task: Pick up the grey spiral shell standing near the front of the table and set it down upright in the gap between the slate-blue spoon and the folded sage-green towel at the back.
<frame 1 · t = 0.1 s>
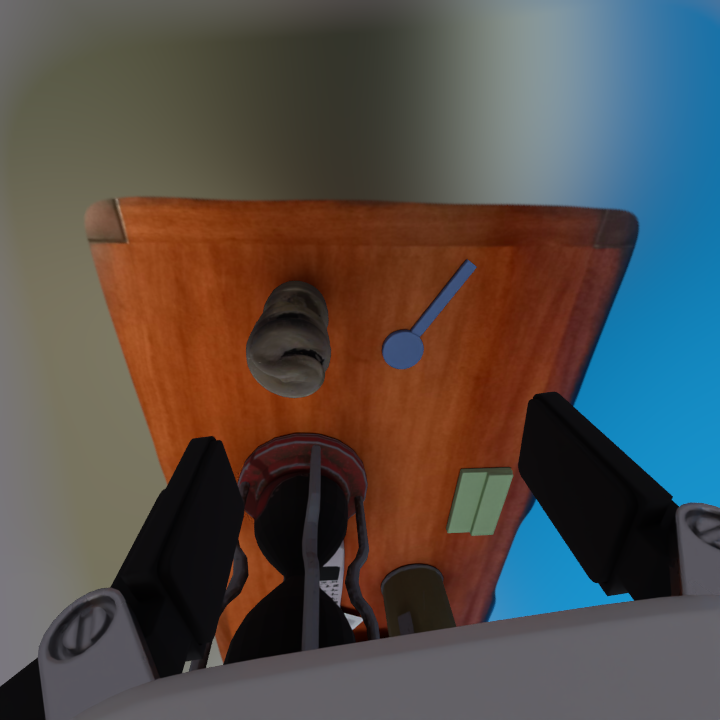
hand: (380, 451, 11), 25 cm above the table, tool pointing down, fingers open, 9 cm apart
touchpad: (322, 627, 62), on the table
canister: (410, 581, 58), on the table
mobile phone: (323, 574, 55), on the table
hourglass: (304, 480, 45), on the table
towel: (476, 499, 50), on the table
grey spiral shell: (300, 295, 34), on the table
spoon: (425, 319, 36), on the table
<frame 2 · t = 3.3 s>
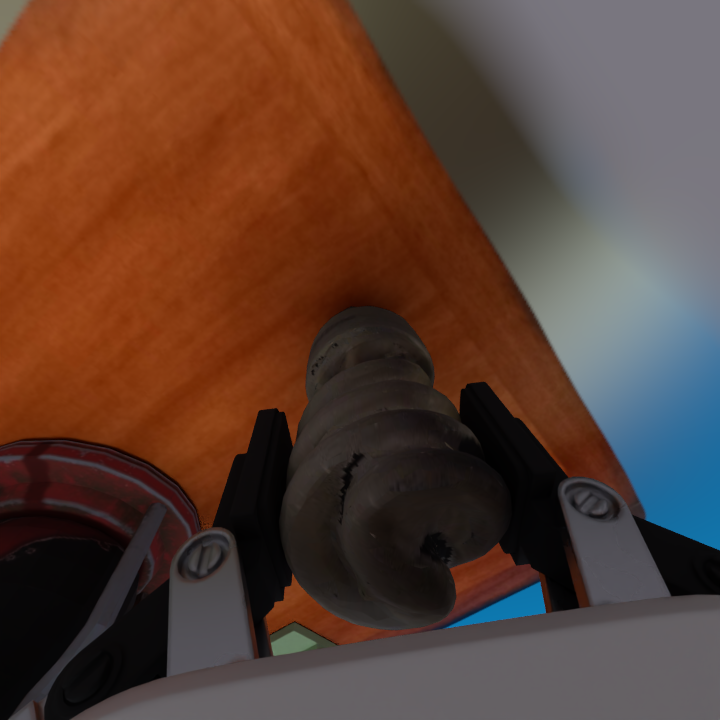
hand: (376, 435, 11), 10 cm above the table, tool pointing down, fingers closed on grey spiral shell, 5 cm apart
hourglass: (87, 521, 26), on the table
towel: (273, 657, 36), on the table
grey spiral shell: (353, 323, 20), on the table, touching gripper
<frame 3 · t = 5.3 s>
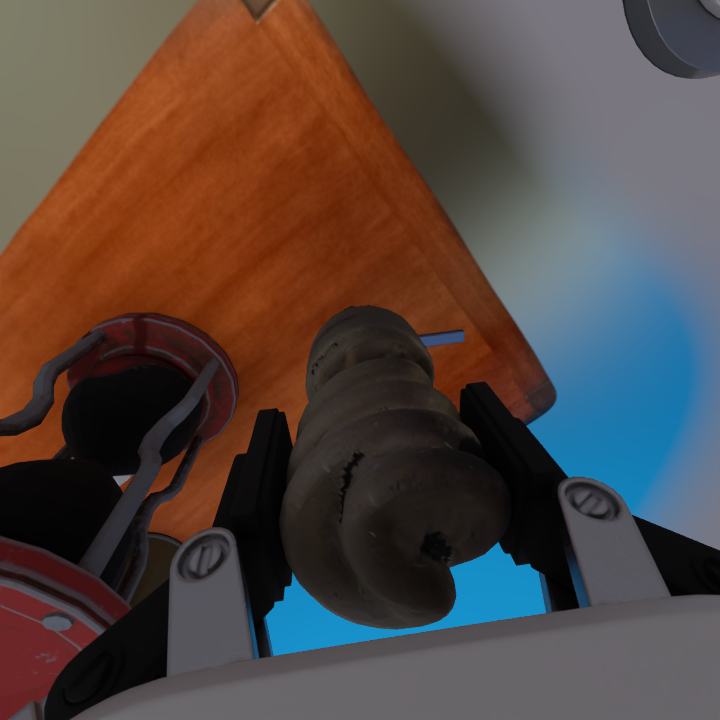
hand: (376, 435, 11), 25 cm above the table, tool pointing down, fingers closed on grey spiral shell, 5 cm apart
canister: (152, 554, 49), on the table
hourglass: (162, 382, 37), on the table
grey spiral shell: (353, 322, 20), point 15 cm above the table, touching gripper
spoon: (399, 343, 38), on the table
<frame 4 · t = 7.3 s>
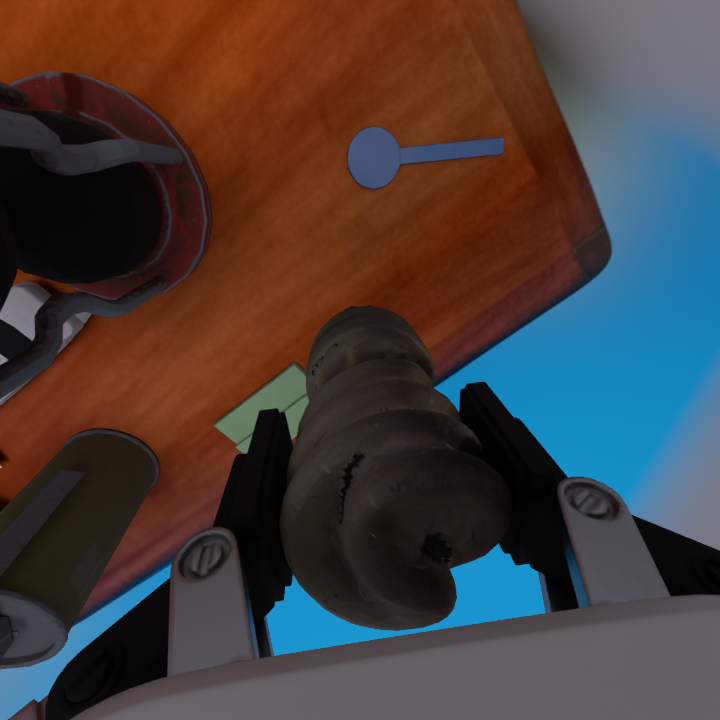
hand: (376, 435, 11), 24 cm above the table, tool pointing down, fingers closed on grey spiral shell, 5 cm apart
canister: (113, 461, 41), on the table
mobile phone: (1, 361, 34), on the table
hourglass: (111, 200, 29), on the table
towel: (276, 412, 40), on the table
grey spiral shell: (353, 323, 20), point 14 cm above the table, touching gripper
spoon: (420, 154, 29), on the table
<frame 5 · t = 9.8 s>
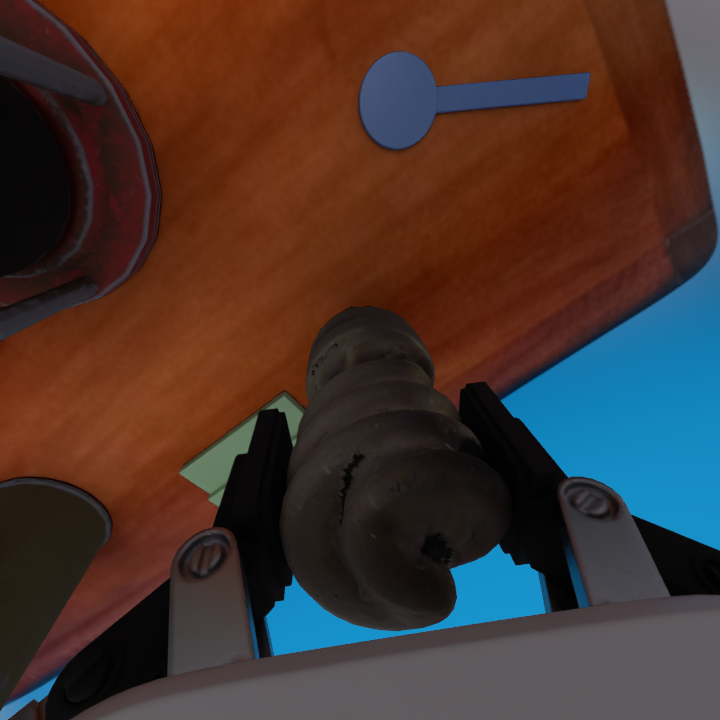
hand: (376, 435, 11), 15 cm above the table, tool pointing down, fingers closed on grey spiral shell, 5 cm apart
canister: (50, 515, 32), on the table
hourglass: (10, 163, 20), on the table
towel: (261, 454, 30), on the table
grey spiral shell: (353, 323, 20), point 5 cm above the table, touching gripper
spoon: (465, 98, 20), on the table
when the fingers open (10 cm above the table, at t = 11.7 s): grey spiral shell stays where it is, on the table.
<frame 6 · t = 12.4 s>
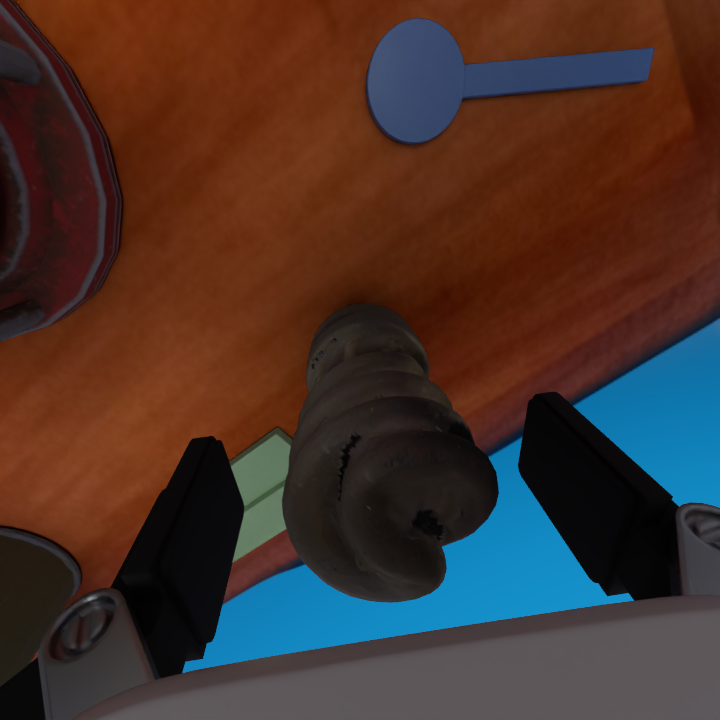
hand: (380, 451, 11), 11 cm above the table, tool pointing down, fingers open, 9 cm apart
canister: (10, 565, 28), on the table
towel: (251, 496, 26), on the table
grey spiral shell: (352, 320, 21), on the table
spoon: (498, 80, 16), on the table
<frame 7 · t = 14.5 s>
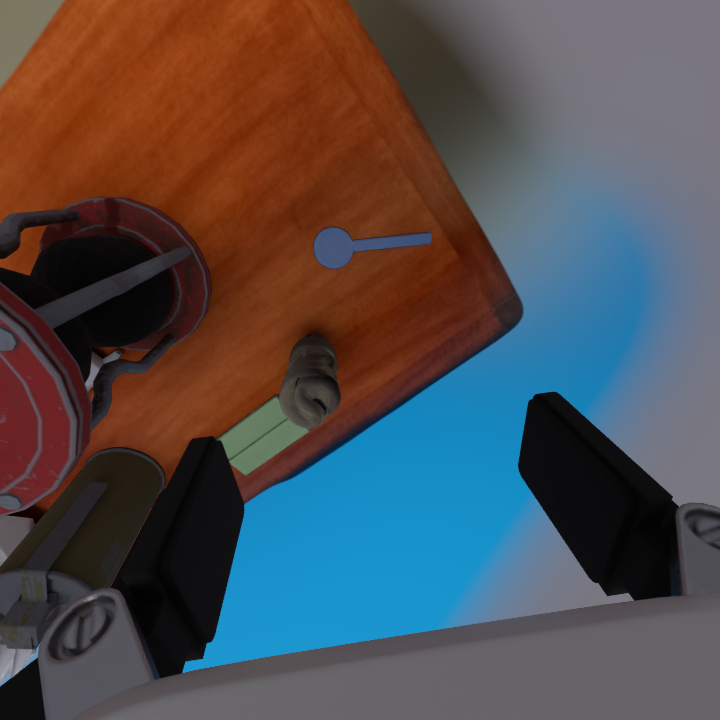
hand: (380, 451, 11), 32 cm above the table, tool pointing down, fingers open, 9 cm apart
canister: (127, 473, 50), on the table
mobile phone: (42, 395, 43), on the table
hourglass: (135, 277, 38), on the table
towel: (261, 433, 49), on the table
grey spiral shell: (312, 340, 44), on the table
grey carved stone block: (17, 540, 53), on the table
spoon: (368, 243, 39), on the table
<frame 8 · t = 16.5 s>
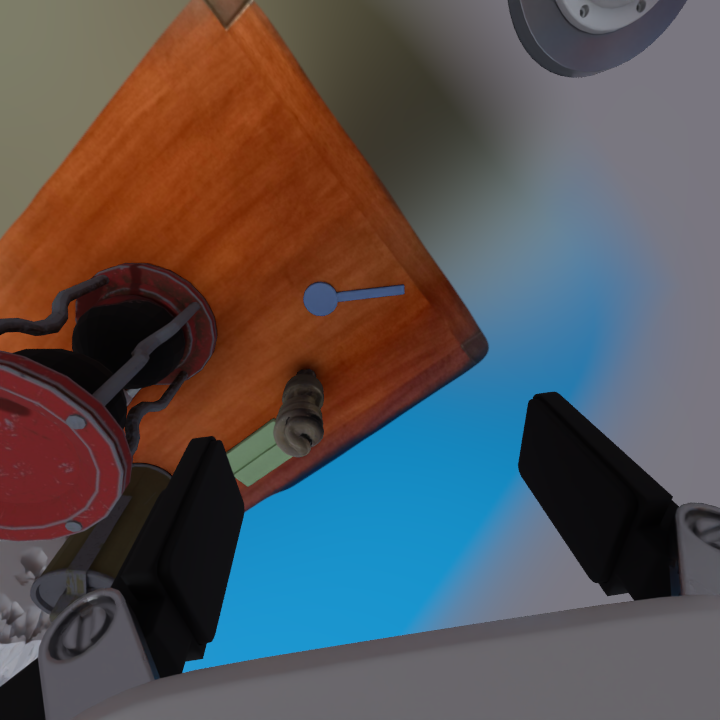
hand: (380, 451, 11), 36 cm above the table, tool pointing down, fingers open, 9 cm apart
canister: (145, 484, 57), on the table
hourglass: (153, 324, 45), on the table
towel: (261, 450, 56), on the table
grey spiral shell: (304, 373, 51), on the table
grey carved stone block: (51, 540, 61), on the table
spoon: (351, 294, 46), on the table
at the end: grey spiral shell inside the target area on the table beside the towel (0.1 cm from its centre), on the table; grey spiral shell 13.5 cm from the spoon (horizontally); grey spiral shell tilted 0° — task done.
